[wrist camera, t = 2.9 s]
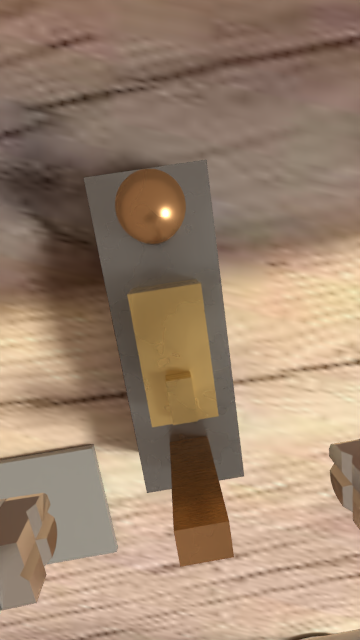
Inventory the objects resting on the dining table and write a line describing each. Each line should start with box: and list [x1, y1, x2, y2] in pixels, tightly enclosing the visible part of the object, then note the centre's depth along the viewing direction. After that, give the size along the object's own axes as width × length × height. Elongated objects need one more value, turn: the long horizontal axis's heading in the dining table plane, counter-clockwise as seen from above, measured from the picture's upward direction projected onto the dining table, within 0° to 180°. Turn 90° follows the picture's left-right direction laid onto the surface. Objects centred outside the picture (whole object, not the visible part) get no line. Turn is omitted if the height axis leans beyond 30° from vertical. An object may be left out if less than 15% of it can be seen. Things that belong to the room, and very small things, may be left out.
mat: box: [0, 445, 118, 564], centre depth 31 cm, size 12×10×1 cm
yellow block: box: [127, 279, 219, 427], centre depth 21 cm, size 9×4×4 cm, turn 8°
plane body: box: [84, 160, 244, 567], centre depth 21 cm, size 24×8×13 cm, turn 8°
